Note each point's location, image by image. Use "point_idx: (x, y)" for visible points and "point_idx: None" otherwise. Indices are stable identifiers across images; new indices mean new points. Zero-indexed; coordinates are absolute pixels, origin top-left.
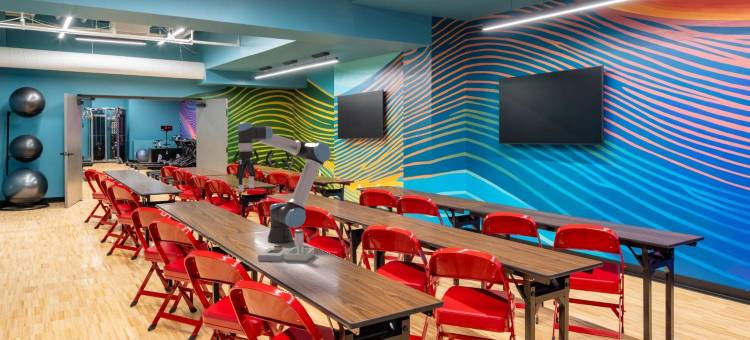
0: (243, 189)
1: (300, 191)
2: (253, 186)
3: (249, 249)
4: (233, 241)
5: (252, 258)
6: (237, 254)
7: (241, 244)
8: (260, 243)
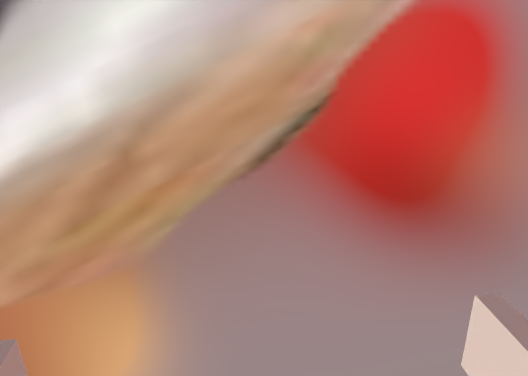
0: (515, 310)
1: None
2: (1, 365)
3: (171, 125)
4: (28, 286)
5: (352, 20)
6: (283, 136)
7: (77, 218)
8: (17, 129)
